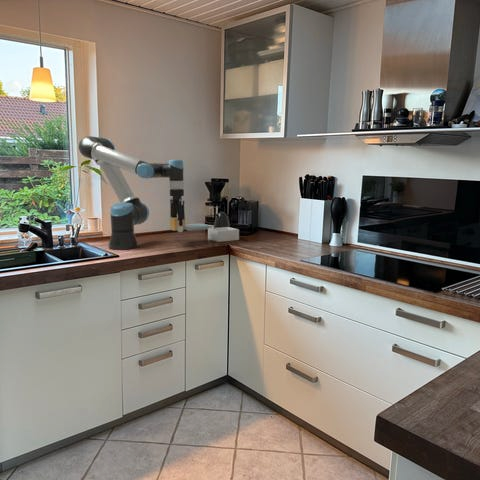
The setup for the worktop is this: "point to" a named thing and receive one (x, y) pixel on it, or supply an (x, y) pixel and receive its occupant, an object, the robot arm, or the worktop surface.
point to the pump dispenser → (221, 220)
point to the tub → (223, 234)
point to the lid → (188, 225)
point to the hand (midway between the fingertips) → (177, 231)
